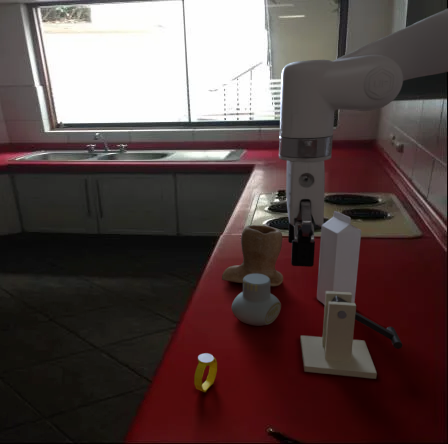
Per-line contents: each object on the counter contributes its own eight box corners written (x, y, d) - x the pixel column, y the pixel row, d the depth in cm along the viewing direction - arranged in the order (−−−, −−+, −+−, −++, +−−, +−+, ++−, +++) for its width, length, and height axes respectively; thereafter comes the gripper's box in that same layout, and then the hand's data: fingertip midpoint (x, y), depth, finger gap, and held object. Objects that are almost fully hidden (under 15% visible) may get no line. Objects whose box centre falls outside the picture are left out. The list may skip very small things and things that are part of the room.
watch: (205, 399, 71) (204, 370, 69) (190, 394, 72) (189, 365, 70) (221, 379, 75) (220, 351, 73) (207, 374, 77) (206, 346, 75)
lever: (389, 336, 78) (398, 327, 77) (397, 352, 73) (406, 342, 72) (327, 301, 79) (334, 291, 78) (330, 314, 74) (338, 304, 73)
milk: (338, 295, 102) (345, 208, 95) (354, 307, 96) (363, 215, 90) (315, 299, 101) (322, 211, 94) (331, 311, 95) (338, 219, 89)
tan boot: (285, 273, 115) (287, 222, 110) (280, 293, 105) (282, 237, 100) (231, 267, 121) (230, 218, 116) (221, 286, 110) (220, 232, 106)
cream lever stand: (364, 345, 82) (370, 287, 78) (376, 378, 73) (384, 314, 69) (300, 340, 85) (303, 283, 81) (304, 371, 76) (307, 309, 72)
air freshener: (260, 336, 87) (260, 293, 84) (226, 323, 93) (226, 282, 90) (284, 314, 95) (286, 274, 92) (252, 303, 100) (253, 265, 97)
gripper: (341, 157, 54) (332, 277, 59) (324, 140, 70) (318, 236, 75) (280, 158, 56) (277, 275, 61) (277, 141, 72) (275, 234, 77)
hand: (299, 253), depth 68 cm, fingers open, 9 cm apart
